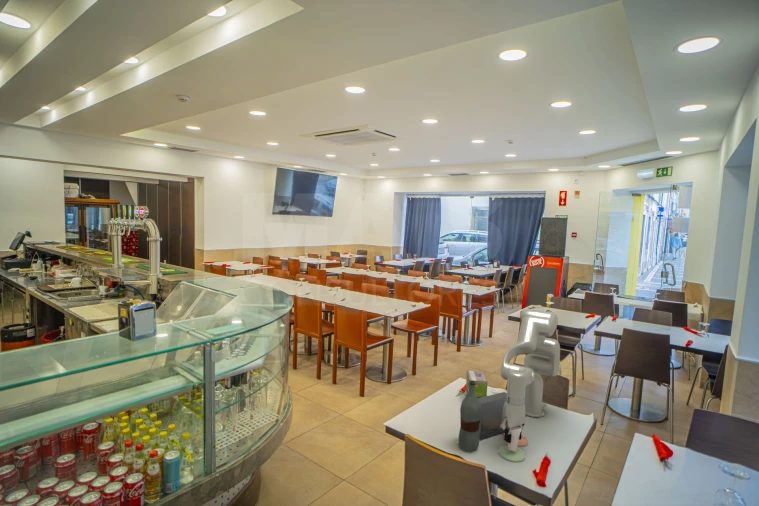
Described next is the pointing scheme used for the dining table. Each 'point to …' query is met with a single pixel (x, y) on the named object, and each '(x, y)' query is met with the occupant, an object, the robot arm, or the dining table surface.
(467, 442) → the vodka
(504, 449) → the sage coaster
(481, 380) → the tea box
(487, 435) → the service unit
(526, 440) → the terracotta coaster
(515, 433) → the smoothie
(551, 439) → the dining table surface
